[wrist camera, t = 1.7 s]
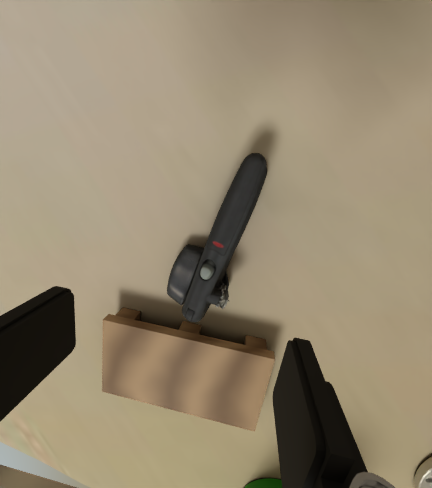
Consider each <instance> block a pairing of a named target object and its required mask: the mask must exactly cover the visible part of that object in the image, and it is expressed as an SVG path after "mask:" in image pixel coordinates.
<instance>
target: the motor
mask: <svg viewBox="0 0 432 488" xmlns="http://www.w3.org/2000/svg"><path fill="white" fill-rule="evenodd" d="M245 488H282V480H279V479H272V478H266V479H259V480H255V481H253V482H251V483H249V484H248V485H246V486H245Z"/></svg>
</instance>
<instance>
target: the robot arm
mask: <svg viewBox="0 0 432 488" xmlns="http://www.w3.org/2000/svg"><path fill="white" fill-rule="evenodd" d="M75 344H76V338H75V312H74V295H73V293H71V290H70V289H67V288H63V287H58V286H55V287H52V288H50V289H49V290H47V291H45V292H43V293H41V294H39V295H38V296H36V297H34V298H32V299H30V300H29V301H27V302H25V303H23V304H21V305H19V306H18V307H16V308H14V309H12V310H10V311H8V312H7V313H5V314H3V315H1V316H0V421H1V420H2V419H3V418H4V417H5V416H6V415H8V414H9V413H10V412H11V411H12V410H13V409H14V408H15V407H16V406H17V405H18V404H19V403H20V402H21V401H22V400H23V399H24V398H25V397H26V396H27V395H28V394H29V393H30V392H31V391H32V390H33V389H34V388H35V387H36V386H37V385H38V384H39V383H40V382H41V381H42V380H43V379H44V378H45V377H47V376H48V375H49V374H50V373H51V372H52V371H53V370H54V369H55V368H56V367H57V366H58V365H59V364H60V363H61V362H62V361H63V360H64V359H65V358H66V357H67V356H68V355H69V354H70V353H71V352H72V351H73V349H74V347H75ZM273 407H274V416H275V425H276V435H277V444H278V453H279V462H280V471H281V480H282V488H395V487H394V486H393V485H391V484H390V483H389V482H387V481H386V480H385V479H383V478H382V477H380V476H378V475H375V474H373V473H369V472H368V471H367V469H366V467H365V464H364V462H363V459H362V457H361V454H360V452H359V449H358V447H357V444H356V442H355V440H354V437H353V435H352V432H351V430H350V427H349V425H348V422H347V420H346V418H345V415H344V413H343V410H342V408H341V405H340V403H339V400H338V398H337V395H336V393H335V391H334V388H333V386H332V385H331V384H330V383H329V382H326V381H325V379H324V377H323V374H322V372H321V369H320V366H319V364H318V361H317V358H316V356H315V353H314V351H313V348H312V345H311V343H310V341H308V340H304V339H299V338H294V339H293V341H290V340H289V341H288V343H287V346H286V350H285V353H284V356H283V360H282V363H281V367H280V370H279V373H278V377H277V380H276V384H275V387H274V391H273ZM414 486H415V488H432V457H430V458H429V459H427V460H426V461H425V462H424V463H423V464H421V466H420V467H419V468H418V470H417V472H416V475H415V477H414ZM0 488H76V487H73V486H70V485H67V484H63V483H60V482H57V481H53V480H50V479H47V478H43V477H40V476H36V475H33V474H30V473H26V472H23V471H20V470H16V469H13V468H9V467H6V466H3V465H0Z"/></svg>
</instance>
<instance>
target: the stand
mask: <svg viewBox="0 0 432 488" xmlns="http://www.w3.org/2000/svg"><path fill="white" fill-rule="evenodd" d="M140 314H141V311H136V310H132V309H128V308H122V309H121V310H120V311H119V312H118V313H117V314H116V315H111V314H108V315H107V316H106V317H105V318H104V319H103V366H102V391H103V392H106V393H110V394H114V395H118V396H122V397H125V398H129V399H133V400H137V401H141V402H144V403H148V404H152V405H156V406H160V407H163V408H167V409H171V410H175V411H179V412H182V413H186V414H190V415H194V416H198V417H201V418H205V419H209V420H213V421H217V422H221V423H224V424H228V425H232V426H236V427H240V428H243V429H247V430H251V431H255V429H256V425H257V422H258V418H259V414H260V411H261V407H262V404H263V400H264V397H265V393H266V390H267V386H268V383H269V379H270V375H271V372H272V368H273V365H274V361H275V356H274V352H273V351H269V350H267V347H266V339H262V338H257V337H253V336H248V335H246V338H245V342H244V345H243V344H238V343H234V342H230V341H225V340H221V339H216V338H212V337H208V336H203V335H200V332H201V325H199V324H195V323H190V322H186V321H183V322H182V324H181V326H180V328H179V330H177V329H172V328H168V327H164V326H159V325H155V324H151V323H146V322H142V321H140Z"/></svg>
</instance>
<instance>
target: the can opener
mask: <svg viewBox="0 0 432 488" xmlns="http://www.w3.org/2000/svg"><path fill="white" fill-rule="evenodd" d="M266 174H267V167H266V160H265V158H264V157H263V156H262V155H261V154H259V153H252V154H250V155H248V156H247V157H246V158H245V159H244V161H243V162H242V164H241V166H240V168H239V170H238V172H237V174H236V176H235V178H234V180H233V182H232V184H231V186H230V188H229V190H228V192H227V194H226V197H225V199H224V201H223V203H222V205H221V208H220V210H219V212H218V215H217V217H216V220H215V222H214V224H213V227H212V230H211V232H210V235H209V237H208V240H207V243H206V245H205V248H202V247H198V246H195V245H190V244H188V245H186V246H185V247H184V248H183V250H182V251H181V253H180V254H179V256H178V257H177V259H176V261H175V263H174V265H173V268H172V270H171V273H170V277H169V281H168V287H167V294H168V295H169V296H170V297H171V298H172V299H174V300H175V301H176V302H177V303H179V304H180V305H182V304H183V303H184V305H183V308H182V313H183V316H184V317H185V318H186V319H187V320H188V321H190V322H199V321H201V320H202V318H203V317H204V315H205V313H206V311H207V310H208V308H209V306H210V304H214V305H216V307H219V306H220V307H221V308H222V309H223V308H225V306H226V304H227V302H229V300H228V297H229V294H228V286H229V282H228V277H227V272H226V270H227V267H228V265H229V262H230V260H231V258H232V255H233V253H234V251H235V249H236V247H237V245H238V243H239V240H240V238H241V236H242V234H243V232H244V230H245V228H246V225H247V223H248V221H249V219H250V217H251V214H252V212H253V210H254V207H255V205H256V202H257V200H258V197H259V195H260V192H261V189H262V186H263V184H264V180H265V178H266Z"/></svg>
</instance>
